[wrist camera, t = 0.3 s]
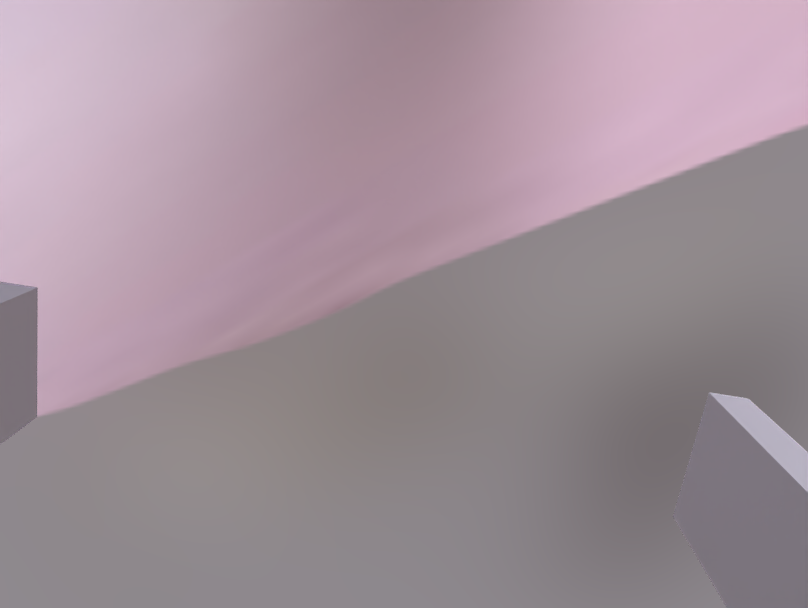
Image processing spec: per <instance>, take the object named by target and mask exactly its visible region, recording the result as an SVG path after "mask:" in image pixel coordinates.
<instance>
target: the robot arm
mask: <svg viewBox="0 0 808 608" xmlns="http://www.w3.org/2000/svg"><path fill="white" fill-rule="evenodd" d="M36 417H37V287H31V286H24V285H18V284H12V283H5V282H0V444H1V443H3V442H4V441H5V440H7V439H8V438H10V437H11V436H12V435H13V434H15V433H16V432H18V431H19V430H20V429H22V427H24V426H26V425H27V424H28V423H30V422H31V421H32V420H34V419H35V418H36ZM673 518H674V519H675V521H676V523H677V525H678V526H679V528H680V530H681V531H682V533H683V535H684V536H685V538H686V540H687V541H688V543H689V545H690V547H691V548H692V550H693V551H694V553H695V555H696V557H697V558H698V560H699V562H700V564H701V565H702V567H703V569H704V570H705V572H706V574H707V575H708V577H709V579H710V580H711V582H712V584H713V586H714V587H715V589H716V591H717V592H718V594H719V596H720V597H721V599H722V600H723V602H724V604H725V606H726V607H727V608H808V452H807V451H806V450H805V449H803V448H802V447H801V446H800V445H799V444H798V443H797V442H796V441H795V440H794V439H792V438H791V437H790V436H789V435H788V434H787V433H786V432H785V431H784V430H782V429H781V428H780V427H779V426H778V425H777V424H776V423H775V422H773V420H771V419H770V418H769V417H768V416H767V415H766V414H765V413H764V412H763V411H762V410H760V409H759V408H758V407H757V406H756V405H755V404H754V403H753V402H752V401H750V400H749V399H748V398H742V397H735V396H729V395H722V394H715V393H710V392H709V394H708V398H707V402H706V405H705V408H704V411H703V415H702V418H701V422H700V425H699V429H698V432H697V436H696V439H695V442H694V446H693V449H692V453H691V456H690V460H689V463H688V467H687V470H686V473H685V477H684V480H683V484H682V487H681V490H680V494H679V498H678V501H677V504H676V508H675V511H674V515H673Z"/></svg>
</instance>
